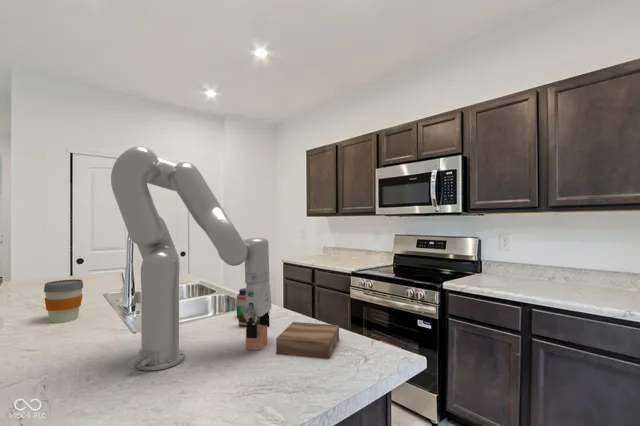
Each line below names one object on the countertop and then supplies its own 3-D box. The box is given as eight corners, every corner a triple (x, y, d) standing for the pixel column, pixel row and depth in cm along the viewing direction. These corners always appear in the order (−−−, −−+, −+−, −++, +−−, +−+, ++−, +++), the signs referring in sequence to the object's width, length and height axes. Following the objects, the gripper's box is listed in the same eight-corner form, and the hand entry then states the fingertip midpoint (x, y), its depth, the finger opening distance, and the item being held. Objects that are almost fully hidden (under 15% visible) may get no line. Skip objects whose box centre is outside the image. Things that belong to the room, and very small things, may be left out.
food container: (246, 330, 119) (246, 302, 119) (235, 327, 122) (235, 300, 123) (271, 321, 128) (271, 296, 129) (260, 319, 132) (260, 293, 132)
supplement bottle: (244, 320, 131) (244, 291, 131) (233, 317, 134) (233, 289, 134) (254, 316, 136) (254, 288, 136) (244, 314, 139) (244, 287, 139)
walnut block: (329, 360, 94) (329, 342, 94) (276, 355, 98) (276, 338, 98) (339, 340, 110) (338, 325, 110) (293, 336, 114) (293, 321, 114)
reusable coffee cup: (88, 318, 134) (89, 281, 135) (51, 326, 124) (51, 286, 124) (75, 313, 141) (75, 278, 141) (38, 321, 130) (38, 283, 131)
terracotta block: (260, 350, 101) (260, 330, 101) (245, 349, 102) (245, 329, 102) (267, 344, 106) (267, 325, 106) (252, 343, 107) (252, 324, 107)
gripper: (257, 283, 95) (258, 343, 95) (278, 273, 112) (279, 323, 112) (233, 282, 97) (234, 341, 96) (257, 272, 113) (258, 322, 113)
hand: (258, 332), depth 104 cm, fingers open, 9 cm apart
